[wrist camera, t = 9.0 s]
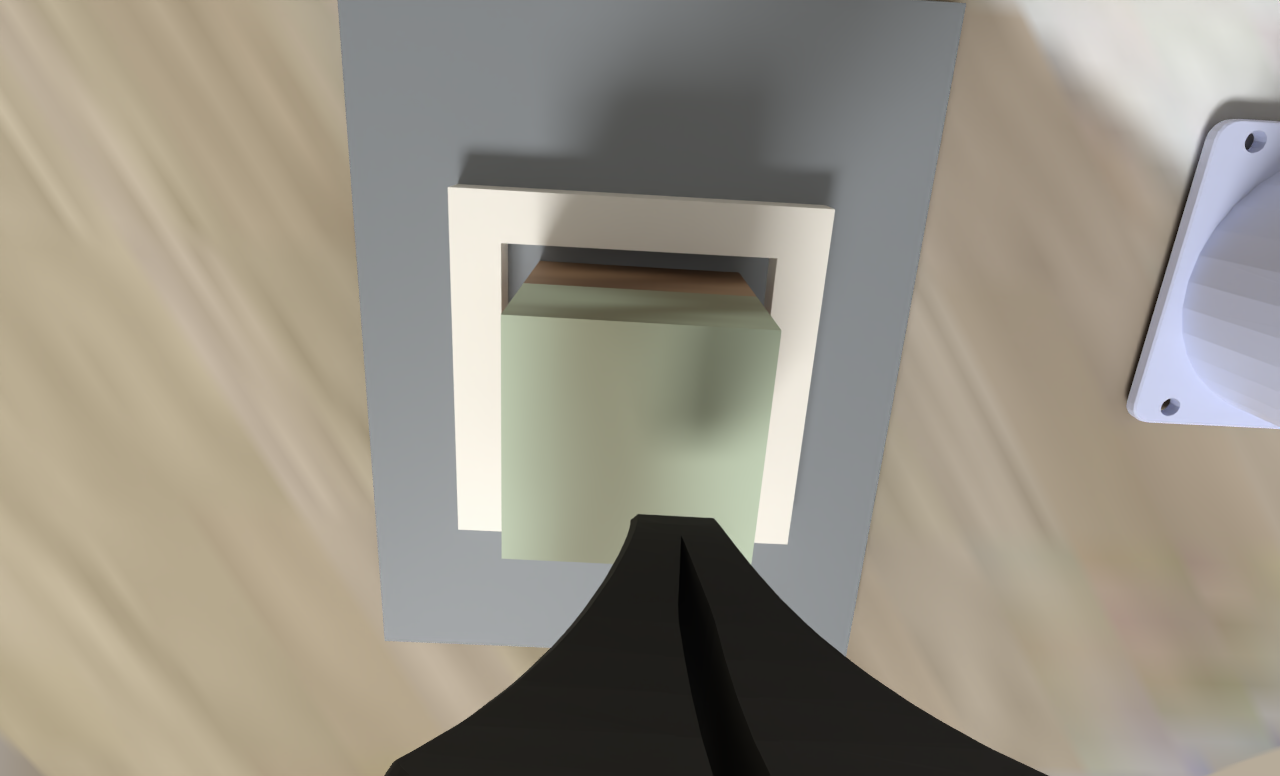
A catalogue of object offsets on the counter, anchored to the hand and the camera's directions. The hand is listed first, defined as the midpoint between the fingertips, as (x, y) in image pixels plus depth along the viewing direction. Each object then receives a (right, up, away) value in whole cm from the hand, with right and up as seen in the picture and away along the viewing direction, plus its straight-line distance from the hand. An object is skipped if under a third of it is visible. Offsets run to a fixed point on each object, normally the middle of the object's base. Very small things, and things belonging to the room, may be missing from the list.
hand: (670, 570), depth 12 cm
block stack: (-1, +4, +7) cm, 8 cm away
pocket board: (-1, +4, +9) cm, 9 cm away
